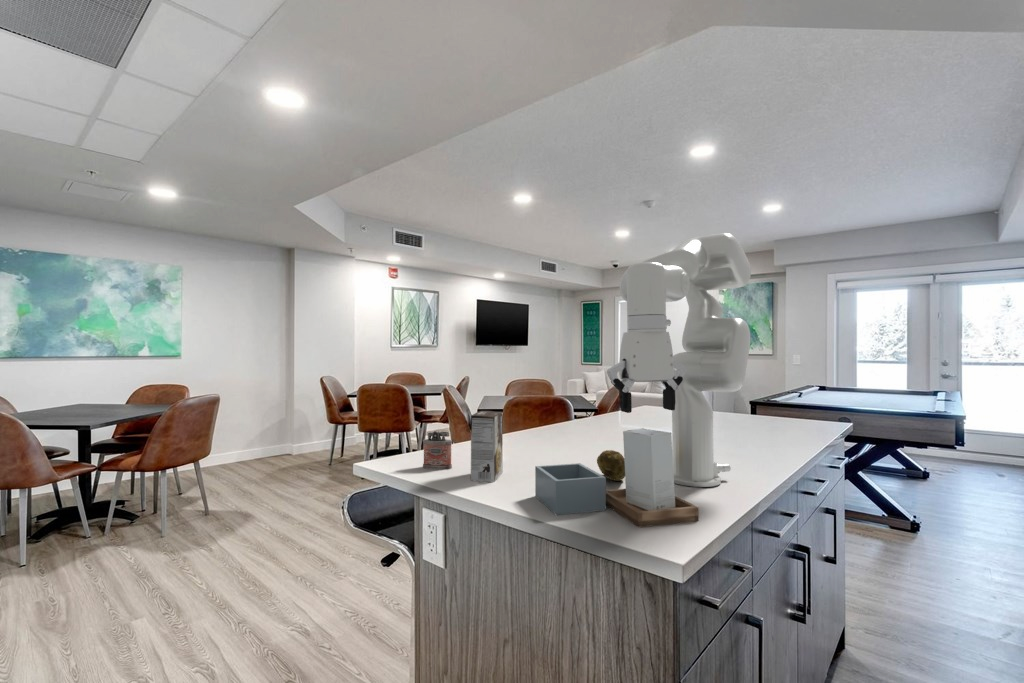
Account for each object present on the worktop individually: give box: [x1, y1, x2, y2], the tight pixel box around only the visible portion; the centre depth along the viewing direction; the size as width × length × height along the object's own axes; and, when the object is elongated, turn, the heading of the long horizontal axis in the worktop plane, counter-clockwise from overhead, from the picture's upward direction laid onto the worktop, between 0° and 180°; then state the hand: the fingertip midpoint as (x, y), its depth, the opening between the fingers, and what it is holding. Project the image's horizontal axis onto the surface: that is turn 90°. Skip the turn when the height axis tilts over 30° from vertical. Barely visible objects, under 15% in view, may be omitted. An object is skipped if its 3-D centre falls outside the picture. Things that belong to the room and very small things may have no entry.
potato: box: [596, 449, 625, 482], centre depth 116 cm, size 8×13×8 cm, turn 152°
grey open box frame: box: [534, 462, 607, 516], centre depth 99 cm, size 11×13×6 cm
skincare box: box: [622, 427, 676, 511], centre depth 94 cm, size 8×6×15 cm
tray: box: [606, 488, 700, 528], centre depth 94 cm, size 13×15×2 cm
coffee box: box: [470, 410, 504, 483], centre depth 120 cm, size 9×6×16 cm
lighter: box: [422, 430, 453, 470], centre depth 129 cm, size 8×3×10 cm, turn 81°
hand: (647, 410), depth 95 cm, fingers open, 9 cm apart
